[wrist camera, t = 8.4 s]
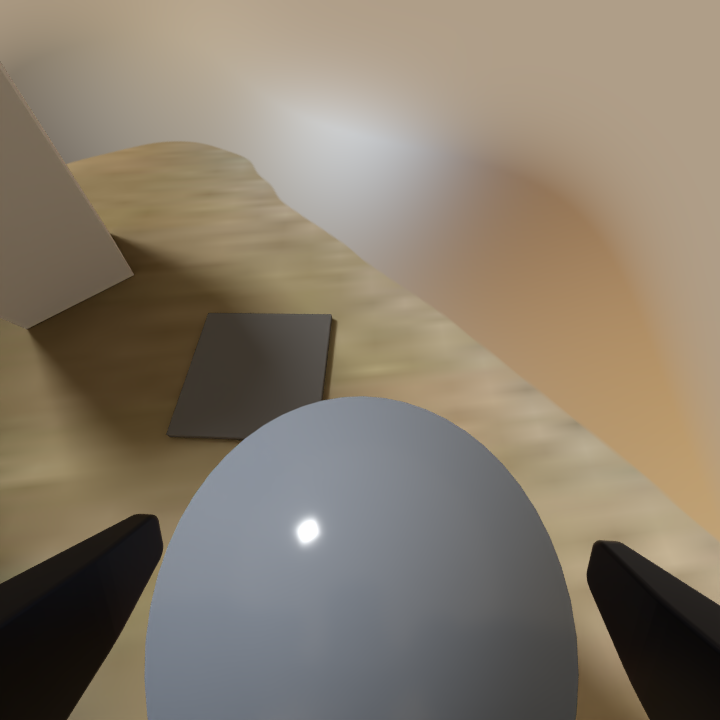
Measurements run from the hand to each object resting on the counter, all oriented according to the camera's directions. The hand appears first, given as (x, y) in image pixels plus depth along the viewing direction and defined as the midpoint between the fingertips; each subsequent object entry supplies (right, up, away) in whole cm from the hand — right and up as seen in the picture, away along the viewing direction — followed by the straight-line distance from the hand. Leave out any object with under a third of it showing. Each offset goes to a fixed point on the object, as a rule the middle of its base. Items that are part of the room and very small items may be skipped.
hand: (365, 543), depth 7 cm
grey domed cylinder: (0, -4, +6) cm, 8 cm away
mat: (-7, +3, +15) cm, 17 cm away
